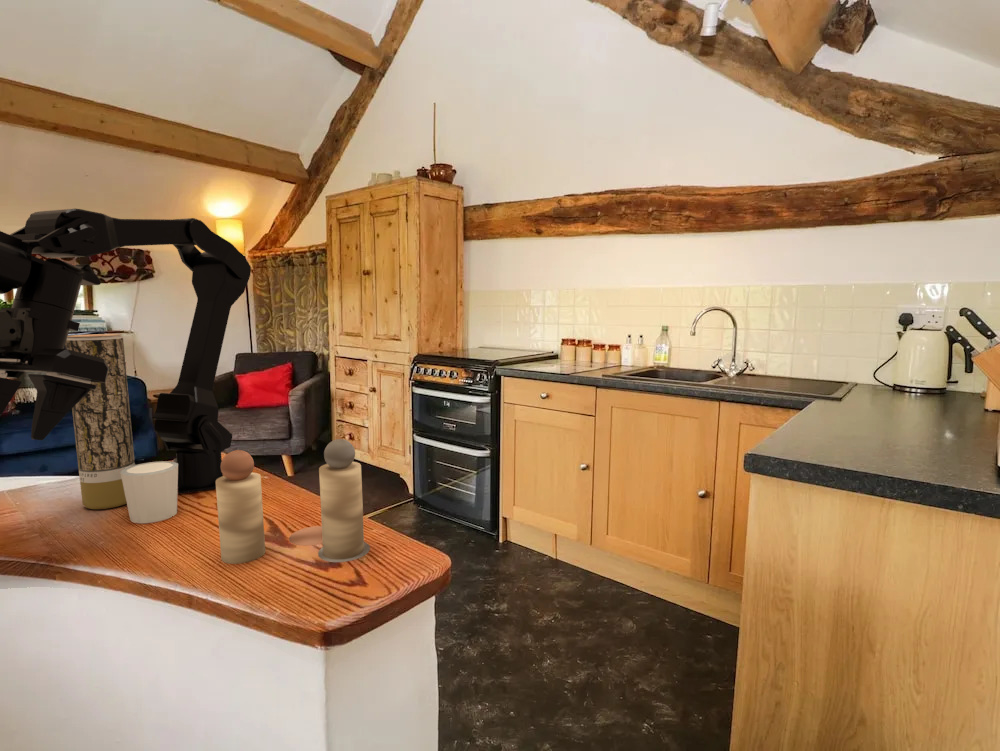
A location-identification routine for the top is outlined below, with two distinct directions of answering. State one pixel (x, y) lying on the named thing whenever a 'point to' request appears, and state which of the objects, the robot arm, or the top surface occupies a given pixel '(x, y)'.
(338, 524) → the grey ball tube
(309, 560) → the top surface
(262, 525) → the terracotta ball tube
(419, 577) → the top surface
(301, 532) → the board
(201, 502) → the top surface
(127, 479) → the white tapered cylinder
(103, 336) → the paper tube
